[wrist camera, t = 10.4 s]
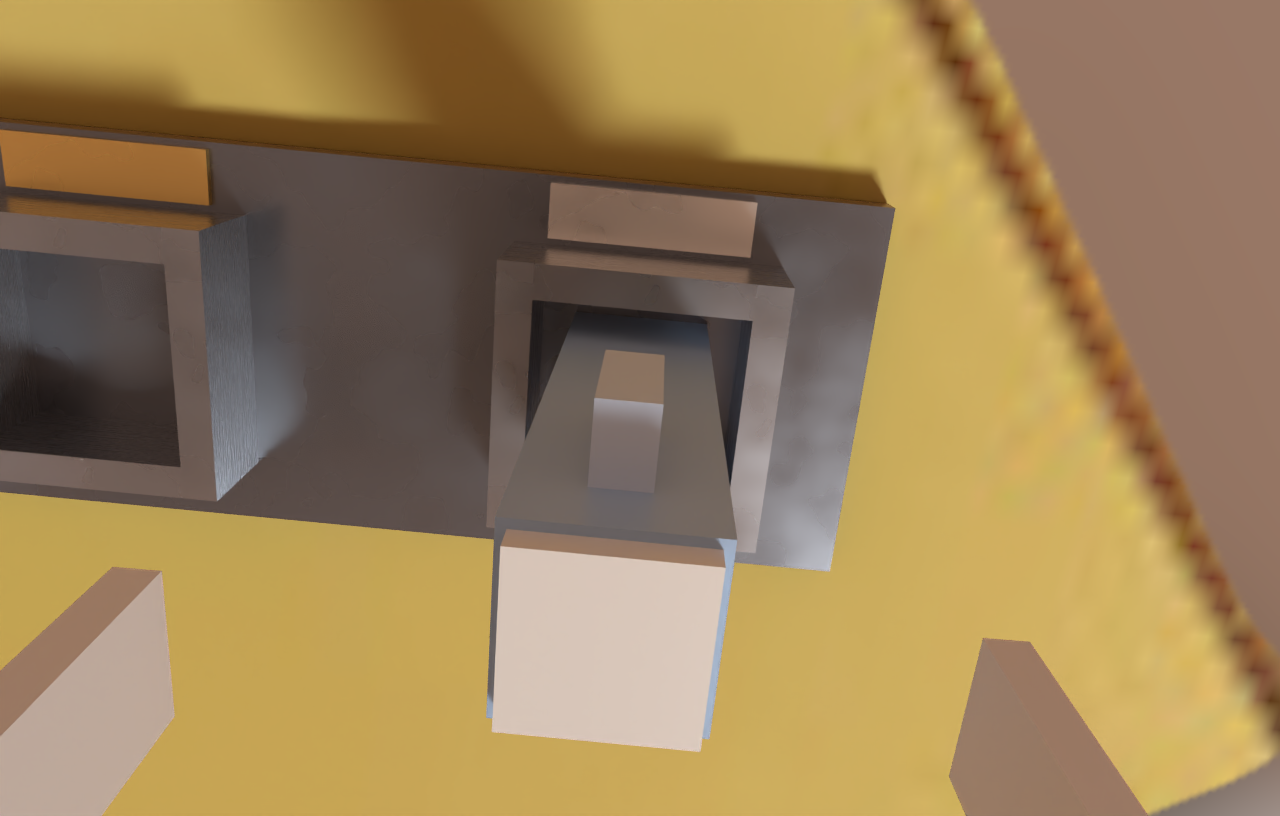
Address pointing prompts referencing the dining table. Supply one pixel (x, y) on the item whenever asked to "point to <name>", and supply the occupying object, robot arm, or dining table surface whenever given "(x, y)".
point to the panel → (399, 327)
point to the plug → (615, 544)
